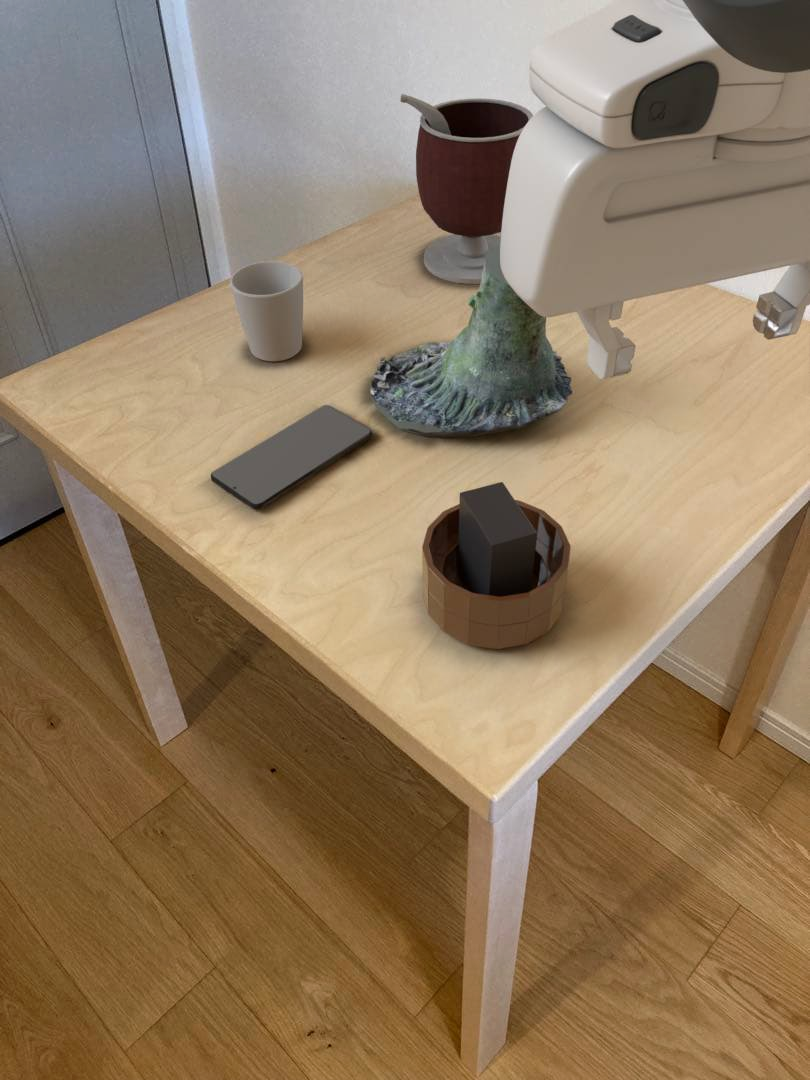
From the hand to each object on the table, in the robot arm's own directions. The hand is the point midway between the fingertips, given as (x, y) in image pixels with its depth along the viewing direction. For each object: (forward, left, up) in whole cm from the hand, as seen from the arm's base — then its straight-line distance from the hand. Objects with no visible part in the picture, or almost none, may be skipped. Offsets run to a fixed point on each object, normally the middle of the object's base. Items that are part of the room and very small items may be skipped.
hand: (692, 351), depth 44 cm
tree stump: (+1, -39, -29) cm, 49 cm away
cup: (+20, -53, -29) cm, 64 cm away
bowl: (+6, -11, -29) cm, 32 cm away
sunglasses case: (+6, -11, -28) cm, 31 cm away
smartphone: (+20, -32, -29) cm, 48 cm away
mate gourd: (-5, -67, -29) cm, 73 cm away
